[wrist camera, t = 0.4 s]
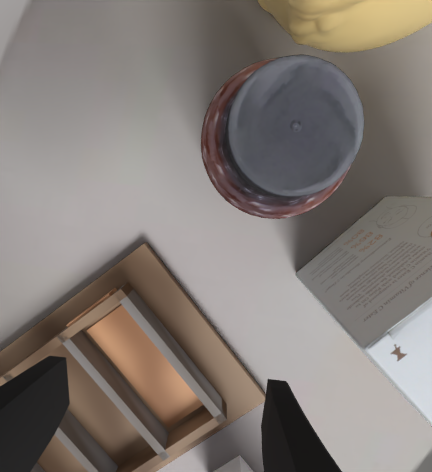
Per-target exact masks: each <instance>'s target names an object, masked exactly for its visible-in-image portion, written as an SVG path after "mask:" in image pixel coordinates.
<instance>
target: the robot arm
mask: <svg viewBox="0 0 432 472" xmlns="http://www.w3.org/2000/svg"><path fill="white" fill-rule="evenodd" d="M69 404H70V399H69V387H68V374H67V361H66V357H58V356H48V357H47V358H45V359H43V360H41V361H40V362H38V363H37V364H35V365H33V366H32V367H30V368H29V369H27V370H25V371H24V372H22V373H21V374H19V375H17V376H16V377H14V378H13V379H11V380H10V381H8V382H6V383H5V384H3V385H2V386H0V472H31V470H32V469H33V467H34V466H35V464H36V463H37V461H38V460H39V458H40V456H41V455H42V453H43V452H44V450H45V449H46V447H47V445H48V444H49V442H50V441H51V439H52V437H53V436H54V434H55V432H56V431H57V429H58V427H59V425H60V423H61V421H62V419H63V417H64V415H65V413H66V411H67V408H68V406H69ZM261 430H262V455H263V465H264V472H342V471H341V470H340V468H339V467H338V465H337V464H336V463H335V461H334V460H333V458H332V457H331V455H330V454H329V452H328V451H327V449H326V448H325V446H324V445H323V443H322V442H321V440H320V439H319V437H318V436H317V434H316V432H315V431H314V429H313V428H312V426H311V424H310V423H309V421H308V419H307V418H306V416H305V414H304V413H303V411H302V409H301V407H300V405H299V404H298V402H297V400H296V398H295V396H294V394H293V392H292V391H291V389H290V387H289V385H288V383H287V382H286V381H280V380H271V379H268V383H267V390H266V397H265V404H264V411H263V418H262V425H261Z"/></svg>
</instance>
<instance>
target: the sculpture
mask: <svg viewBox="0 0 432 472" xmlns="http://www.w3.org/2000/svg"><path fill="white" fill-rule="evenodd" d="M258 2H259V4H260V6H261V7H262V8H263V9H264V10H266V11H268V12H270V13H271V14H272V15H273V16H274V18H275V19H276V20H277V22H278V23H279V24H280V25H281V26H282V27H283V28H284V29H285V30H286V31H287V32H288V33H289V34H290V35H291V36H292V39H293V40H294V42H296V43H297V44H301V45H304V44H306V45H308V46H311V47H313V48H316V49H320V50H324V51H331V52H357V51H364V50H369V49H373V48H377V47H381V46H384V45H387V44H390V43H392V42H395V41H397V40H400V39H402V38H404V37H406V36H408V35H410V34H412V33H414V32H416V31H418V30H420V29H421V28H423V27H425V26H427V25H428V24H430V23H431V22H432V0H258Z"/></svg>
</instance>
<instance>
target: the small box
mask: <svg viewBox="0 0 432 472" xmlns="http://www.w3.org/2000/svg"><path fill="white" fill-rule="evenodd" d="M296 276H297V278H298V279H299V280H300V281H301V282H302V283H303V285H304V286H305V287H306V288H307V289H308V290H309V292H310V293H311V294H312V295H313V296H314V298H315V299H316V300H317V301H318V302H319V303H320V305H321V306H322V307H323V308H324V309H325V310H326V311H327V313H328V314H329V315H330V316H331V317H332V318H333V319H334V321H335V322H336V323H337V324H338V325H339V326H340V327H341V328H342V330H343V331H344V332H345V333H346V334H347V335H348V336H349V337H350V339H351V340H352V341H353V342H354V343H355V344H356V345H357V346H358V348H359V349H360V350H361V351H362V352H363V353H364V354H365V355H366V356H367V357H368V359H369V360H370V361H371V362H372V363H373V364H374V365H375V366H376V367H377V368H378V369H379V371H380V372H381V373H382V374H383V375H384V376H385V377H386V378H387V379H388V380H389V381H390V383H391V384H392V385H393V386H394V387H395V388H396V389H397V390H398V391H399V392H400V394H401V395H402V396H403V397H404V398H405V399H406V400H407V401H408V402H409V403H410V404H411V405H412V406H413V407H414V408H415V409H416V410H417V411H418V413H419V414H420V415H421V416H422V417H423V418H424V419H425V420H426V421H427V422H428V423H429V424H430V425H431V426H432V197H400V196H386V197H385V198H383V199H382V200H381V201H380V202H379V203H378V204H377V205H375V206H374V207H373V208H372V209H371V210H370V211H368V212H367V213H366V214H365V215H364V216H363V217H361V218H360V219H359V220H358V221H357V222H356V223H354V224H353V225H352V226H351V227H350V228H349V229H347V230H346V231H345V232H344V233H343V234H341V235H340V236H339V237H338V238H337V239H336V240H334V241H333V242H332V243H331V244H330V245H328V246H327V247H326V248H325V249H324V250H323V251H321V252H320V253H319V254H318V255H317V256H316V257H315V258H313V259H312V260H311V261H310V262H309V263H307V264H306V265H305V266H304V267H303V268H301V269H300V270H299V271H298V272H297V273H296Z"/></svg>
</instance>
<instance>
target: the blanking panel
mask: <svg viewBox="0 0 432 472" xmlns="http://www.w3.org/2000/svg"><path fill="white" fill-rule="evenodd" d="M213 472H253V470H252V469H251V468H250V467H249V466H248V464H247V463H246V462H245V461H244V459H243V458H242V457H241V456H240V455H239V456H237V457H236V458H234V459H232V460H231V461H229V462H228V463H226V464H225V465H223V466H221V467H220V468H218V469H217V470H215V471H213Z"/></svg>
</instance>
